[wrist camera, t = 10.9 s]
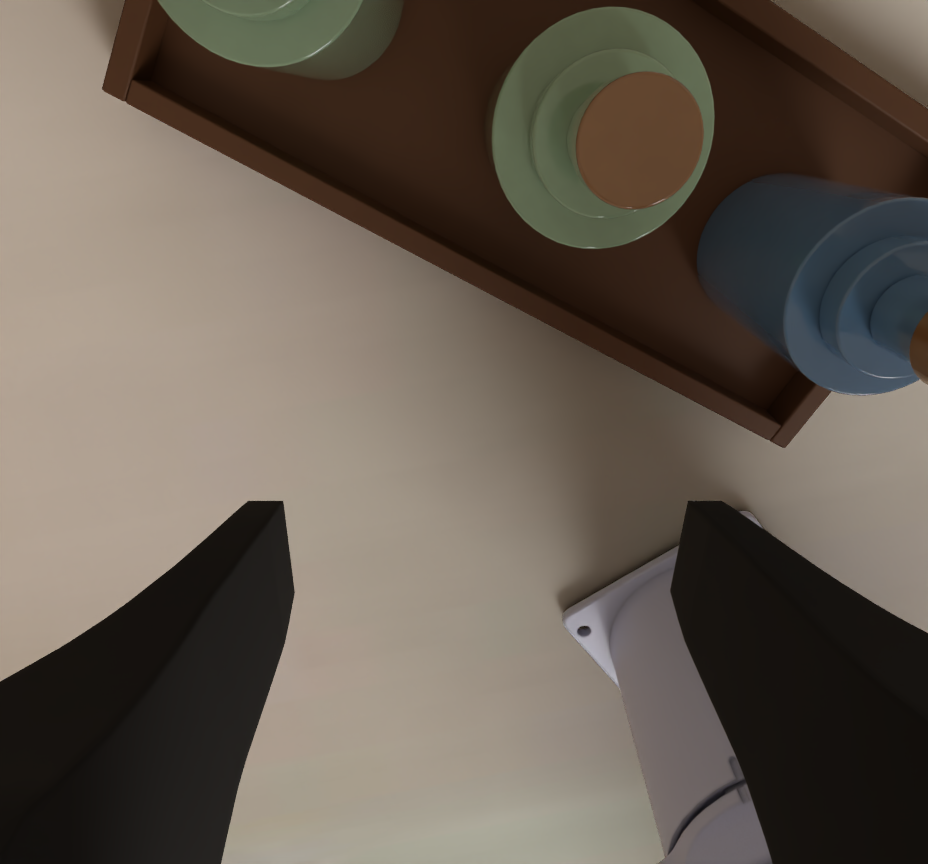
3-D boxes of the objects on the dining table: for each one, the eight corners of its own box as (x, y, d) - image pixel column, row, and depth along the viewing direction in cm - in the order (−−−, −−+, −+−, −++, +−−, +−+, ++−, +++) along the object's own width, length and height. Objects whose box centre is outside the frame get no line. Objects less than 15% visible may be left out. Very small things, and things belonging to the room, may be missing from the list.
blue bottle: (875, 218, 19) (1178, 297, 11) (780, 344, 21) (983, 494, 13) (757, 143, 18) (991, 169, 10) (667, 280, 20) (807, 397, 12)
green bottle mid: (671, 91, 18) (845, 76, 10) (586, 237, 19) (674, 328, 11) (533, 4, 17) (597, -93, 9) (456, 163, 19) (449, 205, 10)
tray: (968, 163, 19) (1015, 168, 17) (762, 425, 23) (785, 449, 21) (249, -324, 15) (223, -378, 13) (132, 92, 18) (100, 89, 17)
